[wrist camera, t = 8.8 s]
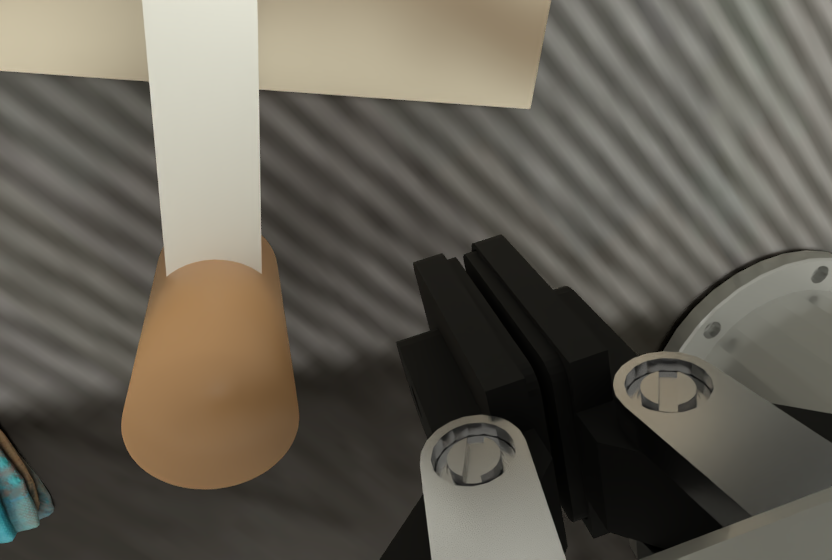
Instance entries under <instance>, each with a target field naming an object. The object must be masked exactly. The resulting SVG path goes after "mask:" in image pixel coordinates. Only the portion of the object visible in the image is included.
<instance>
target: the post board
mask: <svg viewBox="0 0 832 560" xmlns="http://www.w3.org/2000/svg"><path fill="white" fill-rule="evenodd" d="M550 3H551V0H257V9H258V71H259V90H273V91H287V92H301V93H315V94H328V95H342V96H356V97H370V98H384V99H398V100H411V101H425V102H439V103H453V104H467V105H481V106H494V107H508V108H522V109H530V107H531V102H532V97H533V92H534V86H535V81H536V76H537V71H538V66H539V60H540V55H541V50H542V45H543V39H544V34H545V29H546V24H547V18H548V13H549V8H550ZM0 71H10V72H24V73H38V74H52V75H66V76H80V77H93V78H107V79H121V80H135V81H149V73H148V62H147V51H146V39H145V28H144V17H143V6H142V0H0Z"/></svg>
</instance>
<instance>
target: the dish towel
mask: <svg viewBox="0 0 832 560" xmlns="http://www.w3.org/2000/svg"><path fill="white" fill-rule="evenodd" d="M53 511H54V506H53V504H52V499H51V495H50V494H49V492H48V491H47V489H46V488H45V486H44V485H43V483H42V482H41V480H40V479H39V477H38V476H37V475H36V473H35V472H34V471H33V470H32V469H31V467H30V466H29V465H28V464H27V463H26V461H25V460H24V459H23V458H22V457H21V456H20V454H19V453H18V452H17V450H16V449H15V448H14V446H13V445H12V444H11V442H10V441H9V440H8V438H7V437H6V436H5V434H4V433H3V432H2V431H1V429H0V543H8V542H11V541H13V539H14V538H15V536H16V534H17V532H20V531H25V530H29V529H32V528H36V527H38V526H39V524H40V521H39V520H40V519H42V518H44V517H47V516H49V515H50V514H51V513H53Z"/></svg>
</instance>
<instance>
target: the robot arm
mask: <svg viewBox="0 0 832 560" xmlns="http://www.w3.org/2000/svg"><path fill="white" fill-rule="evenodd" d="M463 258H464V265H465V269H466V271H465V269H464V268H463V267H462V265H461V264H460V262H459V261H458V259H457V258H456V257H455V258H451V259H448V260H447V259H446V258H445V256H444V255H443V254H438V255H435V256H432V257H429V258H426V259H423V260H420V261H416V262H413V266H414V271H415V275H416V279H417V283H418V286H419V290H420V294H421V298H422V301H423V305H424V309H425V313H426V317H427V320H428V324H429V328H430V331H428V332H425V333H422V334H419V335H416V336H413V337H410V338H407V339H404V340H401V341H398V342H396V343H397V347H398V351H399V355H400V358H401V361H402V365H403V368H404V371H405V375H406V378H407V381H408V384H409V388H410V391H411V394H412V397H413V400H414V403H415V406H416V409H417V412H418V415H419V417H420V420H421V423H422V426H423V428H424V431H425V434H426V436H427V439H428V440H427V441H426V443H425V445H424V447H423V449H422V451H421V458H420V470H421V478H422V486H423V495H422V497H421V498H420V500H419V501H418V503H417V504H416V506H415V507H414V509H413V510H412V512H411V513H410V515H409V516H408V518H407V519H406V521H405V522H404V524H403V525H402V527H401V528H400V530H399V531H398V533H397V534H396V536H395V537H394V539H393V540H392V542H391V543H390V545H389V546H388V548H387V549H386V551H385V552H384V554H383V555H382V557H381V558H380V560H566V558H565V555H564V554H565V552H566V549H567V547H568V546H567V540H566V534H565V528H564V523H563V517H562V511H561V506H562V508H563V509H564V511H565V513H566V514H567V516H568V518H569V519H570V520H571V521H572V522H575V521H578V520H580V519H582V520H583V522H584V523H585V525H586V527H587V528H588V530H589V532H590V533H591V535H592V537H593V538H597V537H599V536H602V535H605V534H607V533H610V532H611V533H614V534H617V535H620V536H624V537H627V538H628V539H629V544H630V548H631V549H632V551H633V553H634V554H635V556H636V557H637V559H638V560H832V253H829V252H824V251H808V250H805V251H798V252H791V253H785V254H781V255H778V256H775V257H772V258H769V259H766V260H763V261H760V262H758V263H756V264H754V265H752V266H750V267H749V268H747V269H745V270H743V271H741V272H739V273H737V274H735V275H734V276H732V277H731V278H730V279H728V280H727V281H725V282H724V283H723V284H721V285H720V286H718V287H717V288H715V289H714V290H713V291H712V292H711V293H710V294H709V295H707V296H706V297H705V298H704V299H703V300H702V301H701V302H700V303H699V304H698V305H697V306H696V307H694V308H693V310H692V311H691V312H690V313H689V315H688V316H687V317H686V318H685V319H684V321H683V322H682V323H681V324H680V325H679V327H678V328H677V329H676V331H675V332H674V334H673V336H672V337H671V339H670V340H669V342H668V344H667V345H666V347H665V349H664V350H663V352H655V353H647V354H644V355H641V356H637V355H636V354H635V353H634V352H633V351H632V350H631V348H630V347H629V346H628V345H627V344H626V343H625V342H624V341H623V340H622V339H621V338H620V337H619V336H618V335H617V334H616V333H615V332H614V331H613V330H612V329H611V328H610V327H609V326H608V325H607V324H606V323H605V322H604V321H603V320H602V319H601V318H600V317H599V316H598V315H597V314H596V313H595V312H594V311H593V310H592V309H591V308H590V307H589V306H588V305H587V304H586V303H585V302H584V301H583V300H582V299H581V298H580V297H579V296H578V295H577V293H576V292H575V291H574V290H572V289H571V288H570V287H568V286H564V287H561V288H558V289H555V290H553V289H552V288H551V287H550V286H549V285H548V284H547V283H546V282H545V281H544V280H543V279H542V278H541V276H540V275H539V274H538V273H537V272H536V271H535V270H534V269H533V268H532V267H531V266H530V264H529V263H528V262H527V261H526V260H525V259H524V258H523V257H522V256H521V255H520V254H519V253H518V251H517V250H516V249H515V248H514V247H513V246H512V245H511V244H510V243H509V242H508V241H507V240H506V238H505V237H504V236H502V235H498V236H495V237H492V238H489V239H485V240H482V241H479V242H476V243H473V244H472V252H470V253H467V254H464V256H463ZM560 504H561V505H560Z"/></svg>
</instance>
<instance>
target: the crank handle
mask: <svg viewBox="0 0 832 560" xmlns="http://www.w3.org/2000/svg"><path fill="white" fill-rule="evenodd" d="M142 6H143V17H144V28H145V39H146V51H147V62H148V73H149V84H150V96H151V107H152V118H153V130H154V141H155V152H156V163H157V175H158V186H159V197H160V209H161V220H162V231H163V242H164V246H163V248H162V250H161V253H160V256H159V259H158V263H157V268H156V272H155V276H154V281H153V285H152V289H151V293H150V298H149V302H148V306H147V311H146V315H145V319H144V324H143V328H142V332H141V337H140V341H139V345H138V349H137V354H136V358H135V362H134V367H133V371H132V375H131V380H130V384H129V388H128V393H127V397H126V401H125V406H124V410H123V414H122V422H121V429H122V436H123V441H124V444H125V446H126V448H127V450H128V452H129V454H130V455H131V457H132V458H133V459H134V461H135V462H136V463H137V464H138V465H139V466H140V467H141V468H142V469H144V470H145V471H146V472H147V473H149V474H151V475H152V476H154V477H155V478H157V479H159V480H162V481H164V482H166V483H169V484H172V485H175V486H180V487H184V488H191V489H219V488H225V487H230V486H234V485H238V484H241V483H244V482H246V481H249V480H251V479H253V478H255V477H257V476H259V475H261V474H263V473H264V472H266V471H267V470H269V469H270V468H271V467H273V466H274V465H275V464H276V463H277V462H278V461H279V460H280V459H281V458H282V457H283V456H284V455H285V454H286V452H287V451H288V450H289V448H290V446H291V445H292V443H293V441H294V439H295V436H296V434H297V430H298V426H299V408H298V401H297V394H296V387H295V381H294V374H293V367H292V360H291V354H290V347H289V340H288V333H287V326H286V320H285V313H284V306H283V299H282V293H281V286H280V279H279V272H278V265H277V260H276V256H275V254H274V251H273V249H272V248H271V246H270V244H269V243H268V242H267V240H266V239H265V238H264V237H263V236H262V235H261V194H260V132H259V71H258V9H257V0H142Z"/></svg>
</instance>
